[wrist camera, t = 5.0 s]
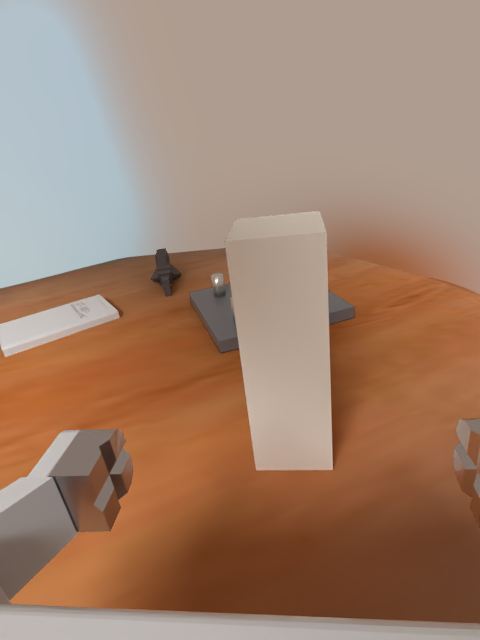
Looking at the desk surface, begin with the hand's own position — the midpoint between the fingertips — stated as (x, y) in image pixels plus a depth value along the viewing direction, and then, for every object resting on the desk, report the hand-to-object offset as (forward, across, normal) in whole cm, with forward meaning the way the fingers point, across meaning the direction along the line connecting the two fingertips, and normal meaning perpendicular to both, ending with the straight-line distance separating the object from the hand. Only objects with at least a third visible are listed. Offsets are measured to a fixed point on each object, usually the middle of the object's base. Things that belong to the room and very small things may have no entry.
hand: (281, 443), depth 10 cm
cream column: (+12, 0, +11) cm, 17 cm away
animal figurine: (+45, +18, +11) cm, 50 cm away
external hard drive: (+33, +28, +12) cm, 45 cm away
